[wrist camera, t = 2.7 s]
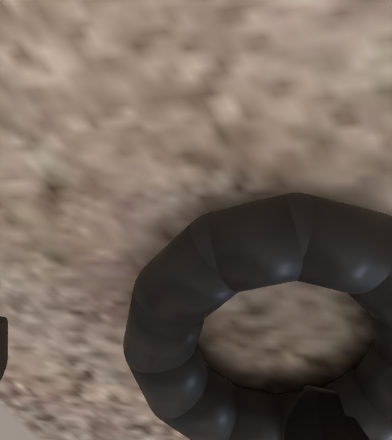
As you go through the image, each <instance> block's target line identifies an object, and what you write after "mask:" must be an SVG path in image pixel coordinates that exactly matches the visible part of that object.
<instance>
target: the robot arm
mask: <svg viewBox="0 0 392 440" xmlns="http://www.w3.org/2000/svg"><path fill="white" fill-rule="evenodd" d="M7 360H8V321H7V318H6V317H2V316H0V380H1V379H2V376H3V374H4V372H5V369H6V365H7ZM284 440H370V439H369V437H368V436H367V435H366V433H365V432H364V430H363V429H362V428H361V426H360V425H359V423H358V422H357V420H356V419H355V418H354V417H350V416H346V415H345V412H344V409H343V406H342V403H341V400H340V397H339V395H338V394H337V392H335V391H332V390H327V389H323V388H318V387H314V386H309V385H306V386H305V387H304V388H303V390H302V392H301V394H300V396H299V398H298V400H297V402H296V404H295V406H294V408H293V410H292V412H291V414H290V416H289V418H288V420H287V422H286V426H285V431H284Z"/></svg>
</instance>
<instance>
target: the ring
mask: <svg viewBox="0 0 392 440" xmlns="http://www.w3.org/2000/svg"><path fill="white" fill-rule="evenodd" d="M291 281H300V282H304V283H309V284H313V285H317V286H321V287H325V288H330V289H334V290H338V291H342V292H346V293H348V294H350V295H351V296H352V297H353V298H354V299H355V300H356V301H357V302H358V303H359V304H360V305H361V306H362V307H363V308H365V309H366V310H367V311H368V312H369V313H370V314H371V315H372V322H373V329H374V337H375V340H374V341H373V343H372V345H371V346H370V348H369V350H368V351H367V353H366V355H365V356H364V358H363V359H362V361H361V363H360V364H359V366H358V367H357V368H356V369H354V370H352V371H350V372H349V373H347V374H345V375H343V376H342V377H340V378H338V379H337V380H335V381H333V382H331V383H330V384H328V385H326V386H324V387H323V389H327V390H332V391H335V392H337V394H338V395H339V397H340V400H341V403H342V406H343V409H344V412H345V415H346V416H350V417H354V418H355V419H356V420H357V422H358V423H359V425H360V426H361V428H362V429H363V430H364V432H365V433H366V435H367V436H368V437H369V439H370V440H392V216H390V215H387V214H384V213H380V212H376V211H372V210H368V209H364V208H360V207H356V206H352V205H348V204H344V203H340V202H336V201H332V200H328V199H324V198H319V197H315V196H311V195H307V194H302V193H290V194H285V195H280V196H276V197H272V198H268V199H264V200H260V201H256V202H252V203H248V204H244V205H239V206H235V207H231V208H227V209H223V210H219V211H215V212H211V213H208V214H205V215H203V216H201V217H199V218H198V219H196V220H195V221H194V222H192V223H191V224H190V225H189V226H188V227H187V228H186V229H185V230H184V231H183V232H182V233H181V234H179V235H178V236H177V237H176V238H175V239H174V240H173V241H172V242H171V243H170V244H169V245H168V246H167V247H166V248H164V249H163V250H162V251H161V252H160V253H159V254H158V255H157V256H156V257H155V258H154V259H153V260H152V261H151V262H149V263H148V264H147V265H146V266H145V267H144V268H143V270H142V271H141V272H140V274H139V275H138V277H137V279H136V281H135V285H134V288H133V294H132V299H131V304H130V310H129V315H128V320H127V325H126V331H125V336H124V343H123V348H124V355H125V358H126V362H127V364H128V365H129V367H130V369H131V371H132V373H133V375H134V377H135V379H136V381H137V383H138V385H139V387H140V389H141V391H142V393H143V395H144V397H145V399H146V401H147V403H148V404H149V406H150V408H151V410H152V411H153V413H154V414H155V415H156V416H157V417H158V418H159V419H160V420H162V421H163V422H165V423H166V424H168V425H169V426H171V427H172V428H174V429H175V430H177V431H178V432H180V433H181V434H183V435H184V436H186V437H187V438H189V439H190V440H284V431H285V426H286V422H287V420H288V418H289V416H290V414H291V412H292V410H293V408H294V406H295V404H296V402H297V400H298V398H299V396H300V394H301V392H302V391H299V392H292V393H284V394H277V395H274V394H270V393H266V392H261V391H257V390H252V389H248V388H244V387H239V386H235V385H233V384H231V383H230V382H229V381H227V380H226V379H225V378H223V377H222V376H221V375H219V374H218V373H217V372H215V371H214V370H213V369H211V368H210V367H209V366H207V365H206V364H205V361H204V358H203V356H202V353H201V351H200V348H199V346H198V343H197V341H198V338H199V335H200V332H201V328H202V325H203V322H204V319H205V318H206V317H207V316H208V315H210V314H211V313H212V312H214V311H215V310H216V309H217V308H219V307H220V306H221V305H222V304H224V303H225V302H226V301H228V300H229V299H230V298H231V297H233V296H234V295H235V294H237V293H238V292H241V291H246V290H251V289H256V288H261V287H266V286H271V285H276V284H281V283H286V282H291Z"/></svg>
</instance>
